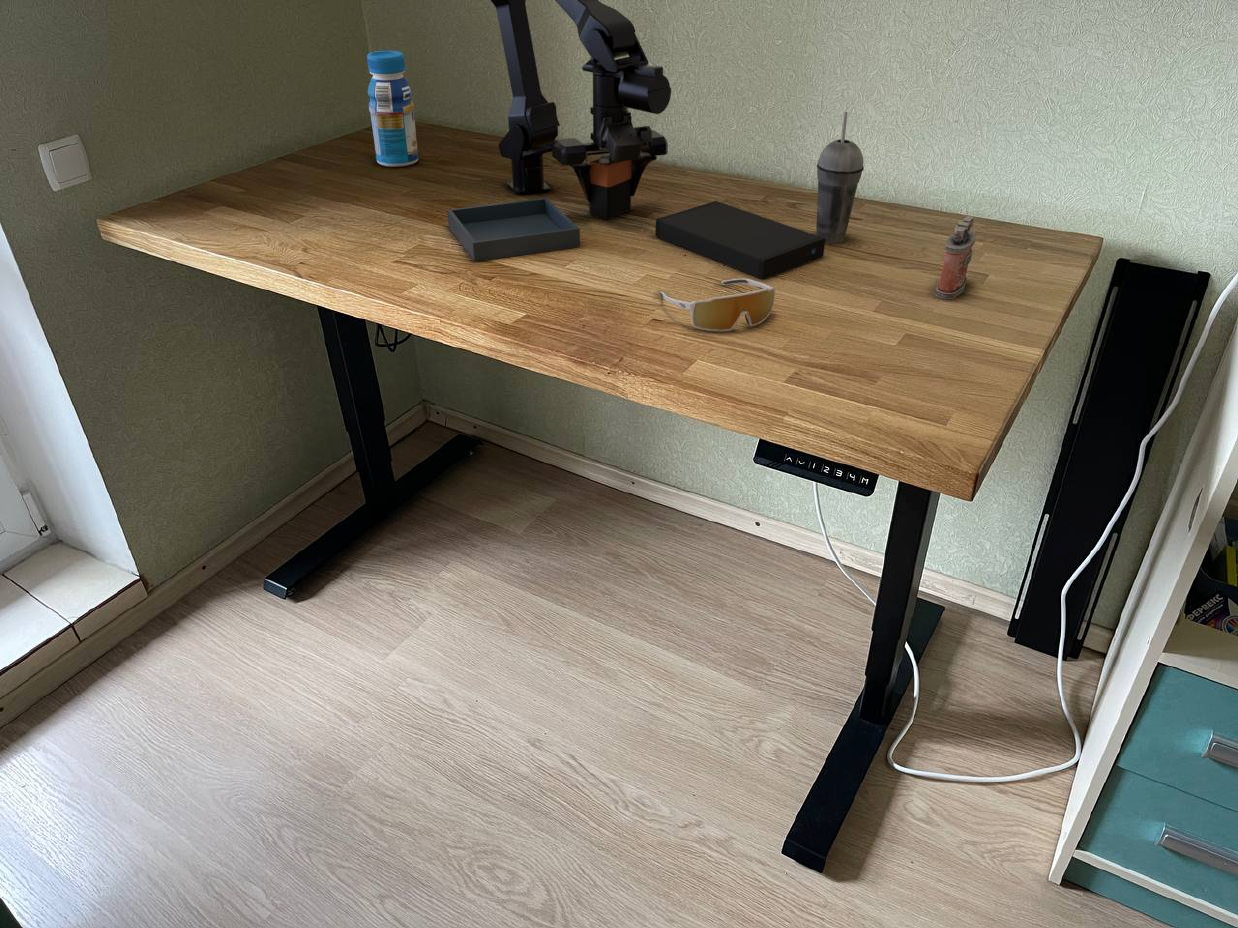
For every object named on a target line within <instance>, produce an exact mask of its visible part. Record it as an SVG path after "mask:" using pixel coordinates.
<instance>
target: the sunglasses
mask: <svg viewBox="0 0 1238 928" xmlns="http://www.w3.org/2000/svg"><path fill="white" fill-rule="evenodd" d="M739 284H740V285H741V284H743V285H744V284H746V285H750V286H752V287H757V288H762V289H758V290H753V291H748V292H743V293H736V294H731V295H722V296H715V297H714V296H713V297H710V298H709V299H700V300H693V301H692V302H691V301H685V300H680V299H676V298H673V297H671V296H668V295H667V294H666V293H665V292H663V291H660V293H659V295H660V297H661V298H663V299H664V300H665V301H666V302H668V303H672V304H674V305H676V306H677V307H679V309H681V310H688V311H690V321H691V325H692V326H693V328H696V329H699V330H703V331H708V332H730V331H732V330H733V329H734V328H735V327H736V325H737V324H738V322H739V320H740V319H741V317H742V316H744V319H745V321H746V323H747V325H749V326H750V327H755V326H757V325H759V324H762V323H763V322H764V321H765V320H767V318H769V316H770V315H771V312H772V309H773V307H774V302H775V296H776V289H775V287H774V286H770V285H768V284H766V283H763V282H760V281H756V280H753V279H751V278H733V279H727V280H722V281H721V285H723V286H728V285H739Z"/></svg>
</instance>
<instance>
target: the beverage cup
mask: <svg viewBox="0 0 1238 928" xmlns="http://www.w3.org/2000/svg"><path fill="white" fill-rule="evenodd" d="M847 122H848V111H844V113H843V119H842V129H841V136H840V137H841V138H840V139H836V140H833V141H831V142H830V143H828V144H827V145H826V146H825V147H824V148H823V149H822V151H821V153H820V154H819V158H818V161H817V164H816V174H817V175H816V176H817V177H816V178H817V198H816V199H817V200H816V201H817V202H816V203H817V204H816V224H815V225H816V226H815V227H816V228H815V229H816V236H819V237H822V238H825V243H830V244H837V243H842V242H844V241H845V237H846V233H847V231H848V226H849V222H850V218H851V214H852V210H853V206H854V201H855V198H856V192H857V188H858V185H859V183H860V181H861V178H862V175H863V174H862V173H863V171H864V169H865V166H864V155H863V153H862V151H861V148H860V147H859V146H858V145H857V144H856V143H855V142H853V141H851V140H850V139H846V131H847Z"/></svg>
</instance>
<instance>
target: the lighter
mask: <svg viewBox="0 0 1238 928" xmlns="http://www.w3.org/2000/svg"><path fill="white" fill-rule="evenodd" d="M974 222H975V218H974V216H971V215H967V216H966V217H965V218H964V219H963V220H958V221H957V224H956V226H955V228H954V233H952V234H951V235H950V236H949V237H948V238H947V240H946V242H945V247H944V250H945V253H944V257H943V264H942V268H941V273H940V278H939V282H938V283H937V286H936V290H935V296H936V297H938V298H941V299H946V300H952V299H955V298H956V297H957V296H959V295H960V294H962V293H963V291H964V289H965V288H966V283H967V278H968V277H967V273H968V269H969V268H968V267H969V264H970V262H971V261H972V256H973V246H975V243H976V240H977V239H976V238H977V233H976V232H975V231H972V230H971V229H972V228H973V227H974Z"/></svg>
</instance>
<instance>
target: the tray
mask: <svg viewBox="0 0 1238 928" xmlns="http://www.w3.org/2000/svg"><path fill="white" fill-rule="evenodd" d="M446 213H447V223H448V228H449V229H450V231H451V232H452V234H453V235H454V236H455V237H456V239H457V240H458V241H459V243H460V244H461V246H462V247H463V248H464V250H465V251H466V253H467V254H468V256H470V258H471V260H473V262H481V261H488V260H496V259H502V258H510V257H511V258H512V257H518V256H526V255H530V254H538V253H546V252H547V253H548V252H552V251H561V250H566V249H567V250H568V249H574V248H580V247H581V229H580V228H579V226H578V225H577V224H576V223H574V222H573V221H572V219H570V218H569V217H568V216H567V215H566V214H565V213H564V212H563V211H562V210H560V209H559V208H558V207H557V205H555V204H554V203H553V201H551V200H550V199H549V198H548V197H540V198H533V199H525V200H516V201H515V200H514V201H507V202H499V203H489V204H483V205H475V206H467V207H459V208H450V209H446Z"/></svg>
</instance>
